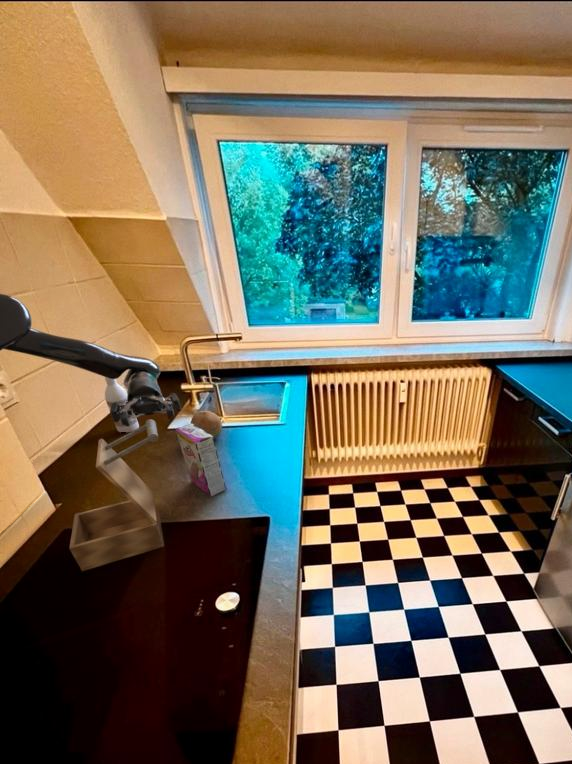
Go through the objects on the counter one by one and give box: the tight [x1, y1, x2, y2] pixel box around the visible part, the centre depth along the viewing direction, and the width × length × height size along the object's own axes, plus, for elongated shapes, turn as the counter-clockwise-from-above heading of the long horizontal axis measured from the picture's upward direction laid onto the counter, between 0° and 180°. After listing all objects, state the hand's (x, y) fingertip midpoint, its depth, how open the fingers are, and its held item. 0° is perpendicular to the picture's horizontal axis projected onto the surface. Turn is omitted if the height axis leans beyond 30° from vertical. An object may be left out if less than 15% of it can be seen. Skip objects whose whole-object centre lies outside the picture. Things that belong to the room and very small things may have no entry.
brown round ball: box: [190, 410, 223, 440], centre depth 127 cm, size 10×10×10 cm
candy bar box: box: [174, 423, 227, 498], centre depth 101 cm, size 11×5×16 cm, turn 47°
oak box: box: [68, 499, 165, 572], centre depth 85 cm, size 16×13×6 cm
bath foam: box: [104, 377, 140, 434], centre depth 131 cm, size 7×7×20 cm
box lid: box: [95, 419, 159, 523], centre depth 82 cm, size 16×13×12 cm
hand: (148, 418), depth 84 cm, fingers open, 8 cm apart
